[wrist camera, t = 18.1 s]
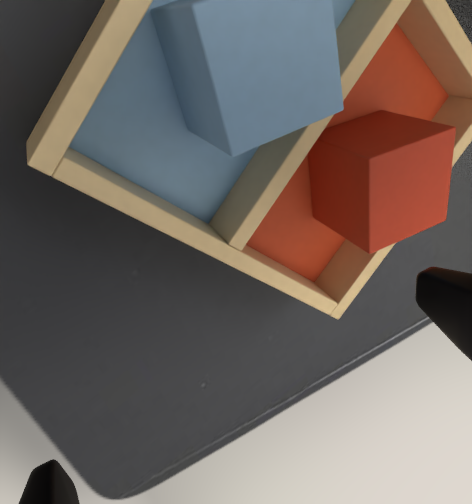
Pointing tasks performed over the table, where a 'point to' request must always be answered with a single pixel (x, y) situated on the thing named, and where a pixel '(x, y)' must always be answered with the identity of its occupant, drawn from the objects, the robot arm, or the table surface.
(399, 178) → the red block
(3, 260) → the table surface
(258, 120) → the blue block
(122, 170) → the sorting tray
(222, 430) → the table surface
